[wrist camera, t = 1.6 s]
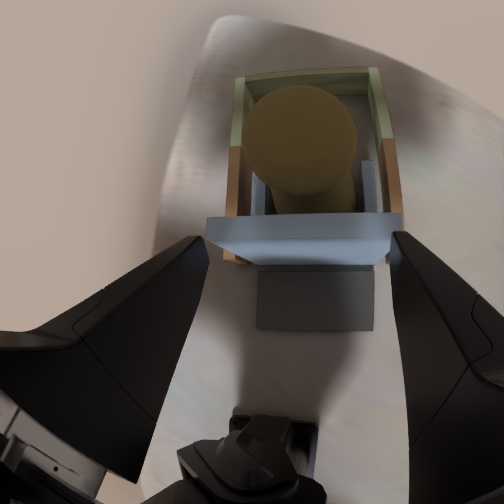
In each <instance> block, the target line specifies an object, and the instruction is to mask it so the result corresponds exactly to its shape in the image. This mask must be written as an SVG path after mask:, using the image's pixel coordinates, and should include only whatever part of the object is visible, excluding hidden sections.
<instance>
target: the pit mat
mask: <svg viewBox="0 0 504 504" xmlns="http://www.w3.org/2000/svg"><path fill="white" fill-rule="evenodd" d="M373 326H374V271H307V272H303V271H259V278H258V308H257V329H277V330H306V331H373Z"/></svg>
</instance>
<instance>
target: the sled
mask: <svg viewBox="0 0 504 504" xmlns="http://www.w3.org/2000/svg"><path fill="white" fill-rule="evenodd" d="M360 173H361V184H362V197H363V213H317V214H282V215H269V214H270V186H268V185H267V184H265V183H264V182H262V181H261V180H260V179H259V178H258V177H257V175H256V174H255V179H254V207H253V216H233V217H213V218H207V227H206V240H207V241H209V242H211V243H213V244H215V245H217V246H220V247H222V248H224V249H226V250H228V251H230V252H232V253H234V254H236V255H238V256H240V257H242V258H244V259H246V260H248V261H251V262H253V263H255V264H257V265H345V264H377V263H378V262H379V261H380V260H381V259H382V258H383V257H384V256H385V255H386V254H387V253H388V252H389V251H390V244H391V234H392V232H393V231H403V223H402V213H377V202H376V190H375V180H374V170H373V161H372V160H361V167H360Z"/></svg>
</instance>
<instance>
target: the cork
mask: <svg viewBox="0 0 504 504" xmlns="http://www.w3.org/2000/svg"><path fill="white" fill-rule="evenodd" d="M242 148H243V151H244V155H245V158H246V161H247V163H248V165H249V166H250V168H251V169H252V170H253V171H254V173H255V174H256V175H257V177H258V178H259V179H260V180H261V181H262V182H264V183H265V184H267V185H268V186H270V188H271V193H272V197H273V201H274V206H275V210H276V213H277V215H282V214H317V213H356V211H357V195H356V191H355V187H354V183H353V179H352V175H351V171H350V168H351V166H352V165H353V163H354V160H355V156H356V152H357V149H358V136H357V127H356V124H355V122H354V120H353V118H352V116H351V114H350V112H349V110H348V108H347V107H346V106H345V105H344V104H343V103H342V102H341V101H340V100H339V99H338V98H337V97H336V96H334V95H332V94H331V93H329V92H327V91H324V90H322V89H320V88H318V87H314V86H308V85H290V86H285V87H282V88H279V89H276V90H273V91H271V92H270V93H268V94H267V95H265V96H263V97H262V98H260V100H259V101H258V102H257V103H256V104H255V105H254V106H253V107H252V109H251V110H250V112H249V114H248V116H247V118H246V120H245V123H244V125H243V129H242Z"/></svg>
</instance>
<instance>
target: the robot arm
mask: <svg viewBox="0 0 504 504" xmlns="http://www.w3.org/2000/svg"><path fill="white" fill-rule="evenodd" d="M389 264H390V275H391V286H392V300H393V310H394V316H395V322H396V327H397V333H398V340H399V346H400V353H401V360H402V368H403V376H404V385H405V395H406V406H407V419H408V436H409V448H410V449H409V504H504V317H503V316H502V315H501V314H500V313H499V312H498V311H497V310H496V309H495V308H494V307H493V306H491V305H490V304H489V303H488V302H487V301H486V300H485V299H484V298H483V297H482V296H481V295H480V294H478V293H477V291H475V290H474V289H473V288H472V287H471V286H470V285H469V284H468V283H467V282H466V281H465V280H464V279H462V278H461V277H460V276H459V275H458V274H457V273H456V272H455V271H453V270H452V269H451V268H450V267H449V266H448V265H447V264H445V263H444V262H443V261H442V260H441V259H440V258H438V257H437V256H436V255H435V254H434V253H432V252H431V251H430V250H429V249H428V248H426V247H425V246H424V245H423V244H422V243H420V242H419V241H418V240H417V239H415V238H414V237H413V236H412V235H410V234H409V233H408V232H406V231H393V232H392V234H391V244H390V254H389ZM208 266H209V257H208V253H207V250H206V247H205V243H204V240H203V238H202V237H201V236H188V237H186V238H184V239H183V240H181V241H179V242H178V243H176V244H174V245H173V246H171V247H169V248H168V249H166V250H164V251H163V252H161V253H159V254H158V255H156V256H154V257H153V258H151V259H149V260H148V261H146V262H144V263H143V264H141V265H140V266H138V267H136V268H135V269H133V270H131V271H130V272H128V273H127V274H125V275H124V276H122V277H120V278H119V279H117V280H115V281H114V282H112V283H111V284H109V285H108V286H106V287H105V288H104V289H101V290H100V291H98V292H97V293H95V294H93V295H92V296H90V297H89V298H87V299H85V300H84V301H82V302H81V303H79V304H77V305H75V306H74V307H72V308H70V309H69V310H67V311H65V312H64V313H62V314H60V315H58V316H57V317H55V318H53V319H52V320H50V321H48V322H47V323H45V324H43V325H41V326H40V327H38V328H36V329H33V330H30V331H25V332H13V331H0V504H103V503H101V502H99V501H98V500H96V499H95V498H96V496H97V493H98V491H99V489H100V486H101V484H102V482H103V479H104V477H105V475H106V472H109V473H112V474H114V475H116V476H118V477H121V478H123V479H125V480H127V481H130V482H132V483H134V484H137V482H138V479H139V476H140V473H141V470H142V467H143V464H144V460H145V457H146V454H147V451H148V448H149V445H150V442H151V439H152V436H153V433H154V430H155V427H156V423H157V420H158V417H159V414H160V412H161V409H162V406H163V403H164V400H165V397H166V394H167V391H168V388H169V385H170V382H171V380H172V377H173V374H174V371H175V368H176V365H177V363H178V360H179V357H180V354H181V351H182V349H183V346H184V343H185V340H186V338H187V335H188V332H189V329H190V327H191V324H192V321H193V318H194V316H195V313H196V310H197V307H198V305H199V301H200V298H201V294H202V289H203V285H204V281H205V277H206V273H207V270H208ZM477 294H478V295H477ZM234 419H237V420H238V421H239V423H236V422H235V421H234ZM309 427H313V428H314V429H315V430H313V431H310V430H309V429H308V428H309ZM318 430H319V427H318V425H317V424H316V423H315V422H306V421H292V420H291V419H290V418H289V417H277V416H267V415H258V414H256V415H255V416H253V417H252V416H244V415H234V416H232V417H231V418H230V421H229V435H228V436H227V437H226V438H221V439H220V440H200V441H197V442H194V443H193V444H191V445H188V446H186V447H184V448H181V449H179V450H177V456H178V460H179V464H180V468H181V472H182V476H183V480H179V481H177V482H175V483H173V484H171V485H170V486H168V487H167V488H165V489H164V490H162V491H160V492H159V493H157V494H156V495H154V496H152V497H151V498H149V499H147V500H146V501H144V502H142V503H141V504H327V494H326V492H325V490H324V488H323V486H322V485H321V484H319V483H318V482H316V481H315V480H314V479H312V478H313V471H314V463H315V456H316V447H317V439H318Z"/></svg>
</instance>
